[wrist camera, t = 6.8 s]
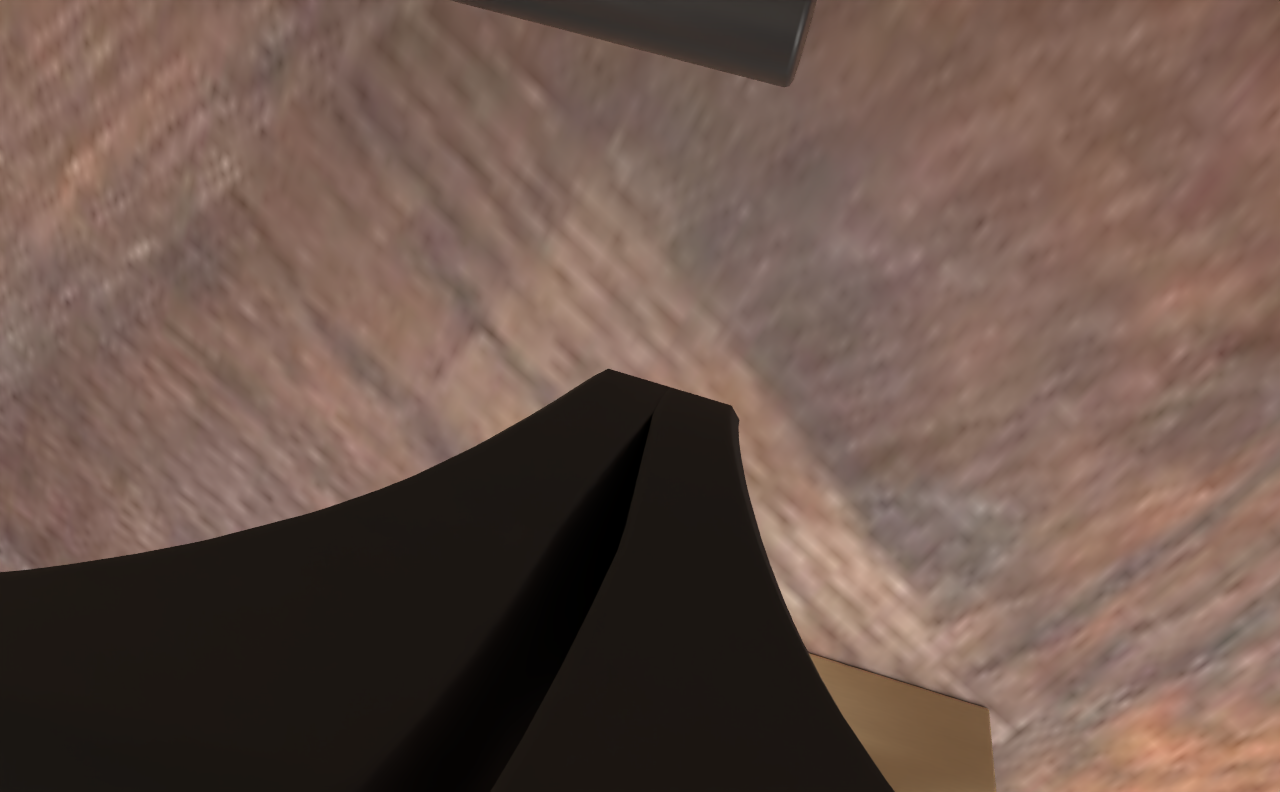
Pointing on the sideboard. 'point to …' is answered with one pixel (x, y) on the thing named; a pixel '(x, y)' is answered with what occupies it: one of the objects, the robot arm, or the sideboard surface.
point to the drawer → (685, 29)
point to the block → (914, 731)
